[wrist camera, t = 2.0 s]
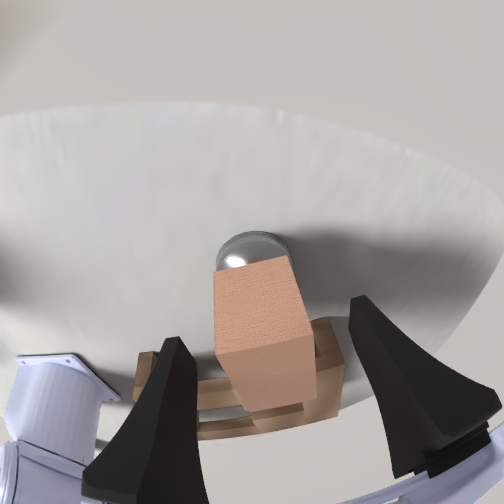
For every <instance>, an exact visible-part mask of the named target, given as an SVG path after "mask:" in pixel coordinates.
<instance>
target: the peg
mask: <svg viewBox="0 0 504 504" xmlns="http://www.w3.org/2000/svg"><path fill="white" fill-rule="evenodd" d="M294 276H295V268H294V264H293V261H292V259H291V256H290V253H289V250H288V248H287V246H286V245H285V243H284V242H283V241H282V240H281V239H279V238H278V237H276V236H275V235H273V234H270V233H267V232H262V231H251V232H245V233H242V234H239V235H237V236H235V237H233V238H231V239H230V240H229V241H227V242H226V243H225V244H224V245H223V246H222V248H221V249H220V251H219V253H218V255H217V260H216V272H214V331H215V356H216V357H217V359H218V361H219V363H220V364H221V366H222V368H223V369H224V371H225V373H226V375H227V376H228V378H229V380H230V381H231V383H232V385H233V386H234V388H235V390H236V391H237V393H238V395H239V396H240V398H241V399H242V401H243V403H244V404H245V406H246V407H247V409H248V411H249V412H255V411H261V410H266V409H271V408H277V407H281V406H286V405H291V404H295V403H300V402H304V401H308V400H312V399H316V398H317V390H316V367H315V348H314V334H313V331H312V328H311V324H310V321H309V318H308V315H307V312H306V309H305V306H304V303H303V300H302V297H301V294H300V291H299V289H298V286H297V283H296V280H295V277H294Z"/></svg>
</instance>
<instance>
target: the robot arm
mask: <svg viewBox="0 0 504 504" xmlns="http://www.w3.org/2000/svg"><path fill="white" fill-rule="evenodd" d="M349 332H350V335H351V338H352V341H353V344H354V347H355V350H356V352H357V355H358V357H359V359H360V361H361V364H362V366H363V368H364V370H365V373H366V375H367V377H368V379H369V382H370V384H371V386H372V389H373V391H374V394H375V396H376V399H377V402H378V405H379V409H380V413H381V416H382V420H383V424H384V428H385V432H386V436H387V441H388V446H389V451H390V457H391V463H392V471H393V475H394V478H395V479H397V478H399V477H402V476H404V475H406V474H408V473H411V472H413V471H414V474H415V476H413V477H411V478H409V479H406V480H404V481H402V482H399V483H397V484H395V485H392V486H390V487H387V488H385V489H382V490H379V491H377V492H374V493H371V494H368V495H365V496H362V497H359V498H355V499H352V500H349V501H345V502H342V503H338V504H382V503H385V502H387V501H390V500H393V499H395V498H397V497H399V499H398V501H396V502H393V503H389V504H474V503H476V502H477V501H478V500H479V499H481V498H482V497H483V496H484V495H486V494H487V493H488V492H489V491H490V490H491V489H492V488H494V487H495V486H496V485H497V484H498V483H499V482H500V481H502V480H503V479H504V422H502V423H501V424H500V425H498V426H497V427H496V428H494V429H493V430H491V431H490V432H488V431H487V428H488V427H489V425H488V422H487V420H488V419H490V418H491V417H492V416H493V415H495V414H496V413H497V412H498V411H499V410H500V409H501V408H502V404H501V402H500V400H499V397H498V395H497V394H496V392H495V390H494V389H491V388H489V387H486V386H484V385H481V384H479V383H477V382H475V381H473V380H471V379H469V378H467V377H465V376H463V375H461V374H460V373H458V372H456V371H455V370H453V369H451V368H449V367H448V366H446V365H444V364H443V363H441V362H440V361H438V360H437V359H436V358H434V357H433V356H431V355H430V354H429V353H427V352H426V351H425V350H423V349H422V348H421V347H420V346H418V345H417V344H416V343H415V342H413V341H412V340H411V339H410V338H409V337H408V336H406V335H405V334H404V333H403V332H402V331H401V330H400V329H399V328H398V327H397V326H396V325H394V324H393V323H392V322H391V321H390V320H389V319H388V318H387V317H386V316H385V315H384V314H383V313H382V312H381V311H380V310H379V309H378V308H377V307H376V306H375V305H374V304H373V303H372V302H371V301H370V300H369V298H368V297H367V296H365V295H362V296H359V297H355V298H352V299H351V303H350V317H349ZM15 362H16V363H17V364H18V365H19V369H18V372H17V375H16V377H15V380H14V383H13V386H12V389H11V392H10V396H9V399H8V402H7V406H6V410H5V422H6V427H7V430H8V432H9V434H10V435H11V437H12V438H13V439H14V440H15V441H13V442H11V441H7V442H6V443H3V444H2V445H1V447H0V504H209V501H208V497H207V493H206V489H205V485H204V481H203V475H202V470H201V464H200V458H199V449H198V440H197V396H198V379H197V368H196V361H195V360H194V358H193V357H192V355H191V354H190V352H189V351H188V349H187V348H186V346H185V345H184V343H183V342H182V340H181V338H180V337H179V336H178V337H171V338H166V339H165V341H164V343H163V345H162V348H161V350H160V353H159V355H158V357H157V359H156V362H155V364H154V366H153V369H152V371H151V373H150V375H149V377H148V379H147V382H146V384H145V386H144V388H143V390H142V392H141V394H140V396H139V398H138V399H137V401H136V403H135V405H134V407H133V409H132V410H131V412H130V414H129V415H128V417H127V418H126V420H125V422H124V423H123V425H122V426H121V427H120V429H119V430H118V432H117V433H116V435H115V436H114V437H113V439H112V440H111V441H110V442H109V443H108V445H107V446H106V447H105V448H104V449H103V451H102V452H101V453H100V454H99V455H98V456H97V457H96V459H94V451H95V442H96V435H97V427H98V421H99V414H100V408H101V403H102V402H119V401H120V396H118V395H117V394H116V393H115V392H114V391H113V390H111V389H110V388H109V387H108V386H107V385H106V384H105V383H104V382H102V381H101V380H100V379H99V378H98V377H97V376H96V375H95V374H94V373H93V372H92V371H91V370H90V369H89V368H88V367H86V366H85V365H84V364H83V363H82V362H81V361H80V360H79V359H78V358H77V357H76V356H75V355H72V354H67V355H50V356H24V357H15Z"/></svg>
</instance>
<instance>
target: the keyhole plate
mask: <svg viewBox="0 0 504 504" xmlns="http://www.w3.org/2000/svg"><path fill="white" fill-rule="evenodd" d="M311 328H312V331H313V334H314V348H315V367H316V390H317V398H316V399H312V400H308V401H304V402H300V403H295V404H291V405H286V406H281V407H277V408H271V409H266V410H261V411H255V412H251V416H248V417H242V418H235V419H227V420H219V421H209V422H199V410H205V409H214V408H222V407H230V406H236V405H242V406H243V408H244V409H245V411H246V412H247V411H248V409H247V407H246V406H245V404H244V403H243V401H242V399H241V398H240V396H239V395H238V393H237V391H236V390H235V388H234V386H233V385H232V383H231V381H230V380H229V378H228V377H223V378H217V379H210V380H203V381H198V396H197V440H198V441H200V440H213V439H223V438H232V437H240V436H248V435H255V434H261V433H267V432H273V431H278V430H283V429H288V428H293V427H297V426H302V425H306V424H310V423H314V422H318V421H321V420H326V419H329V418H333V417H336V416H338V410H339V405H340V398H341V392H342V385H343V378H344V371H345V362H344V359H343V356H342V354H341V351H340V348H339V346H338V343H337V340H336V338H335V335H334V332H333V330H332V327H331V324H330V322H329V319H328V317H325V318H321V319H317V320H313V321H311ZM156 359H157V356H156V355H155V354H154V352H146V353H139V357H138V364H137V370H136V377H135V384H134V391H133V400H134V401H135V402H136V401H137V399H138V398H139V396H140V394H141V392H142V390H143V388H144V386H145V384H146V382H147V379H148V377H149V375H150V373H151V371H152V369H153V366H154V364H155V362H156Z"/></svg>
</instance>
